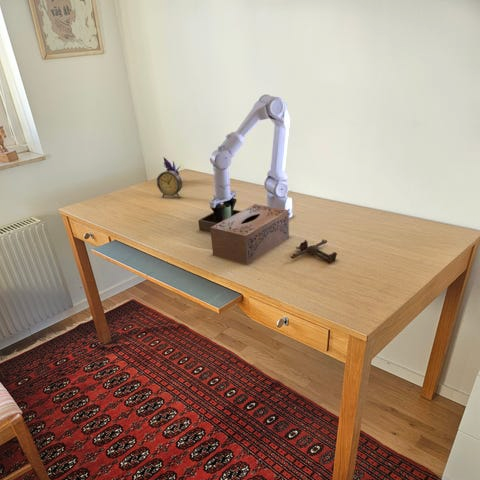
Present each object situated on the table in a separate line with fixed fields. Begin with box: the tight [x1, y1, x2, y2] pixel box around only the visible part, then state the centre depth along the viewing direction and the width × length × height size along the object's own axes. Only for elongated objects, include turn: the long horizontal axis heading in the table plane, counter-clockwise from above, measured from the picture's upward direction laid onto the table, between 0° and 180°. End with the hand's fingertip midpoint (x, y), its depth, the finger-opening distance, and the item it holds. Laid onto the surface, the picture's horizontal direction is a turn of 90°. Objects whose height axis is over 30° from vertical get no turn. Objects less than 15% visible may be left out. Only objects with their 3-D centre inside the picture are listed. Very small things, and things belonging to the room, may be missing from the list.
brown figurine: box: [290, 238, 338, 264], centre depth 145 cm, size 18×4×14 cm
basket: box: [197, 209, 242, 234], centre depth 170 cm, size 14×15×4 cm
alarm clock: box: [156, 160, 183, 198], centre depth 202 cm, size 11×5×16 cm, turn 73°
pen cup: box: [221, 203, 231, 220], centre depth 169 cm, size 5×5×8 cm
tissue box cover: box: [210, 203, 290, 266], centre depth 153 cm, size 26×14×10 cm, turn 144°
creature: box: [156, 157, 181, 180], centre depth 222 cm, size 9×18×12 cm, turn 140°
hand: (224, 220), depth 170 cm, fingers closed on pen cup, 5 cm apart
